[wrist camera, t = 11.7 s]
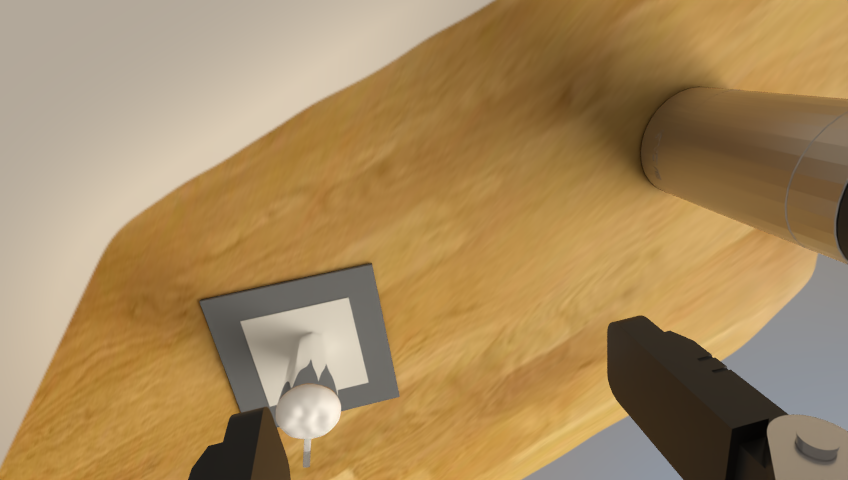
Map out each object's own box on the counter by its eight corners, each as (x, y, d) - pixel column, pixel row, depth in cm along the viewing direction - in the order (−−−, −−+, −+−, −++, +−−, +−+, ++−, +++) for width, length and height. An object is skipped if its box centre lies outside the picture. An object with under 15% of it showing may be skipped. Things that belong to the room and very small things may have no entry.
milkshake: (283, 378, 42) (272, 469, 33) (285, 325, 40) (273, 405, 31) (336, 378, 43) (339, 465, 34) (339, 326, 41) (344, 403, 32)
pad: (371, 263, 40) (372, 265, 40) (399, 394, 45) (399, 397, 45) (200, 300, 38) (199, 302, 38) (249, 431, 44) (249, 435, 43)
